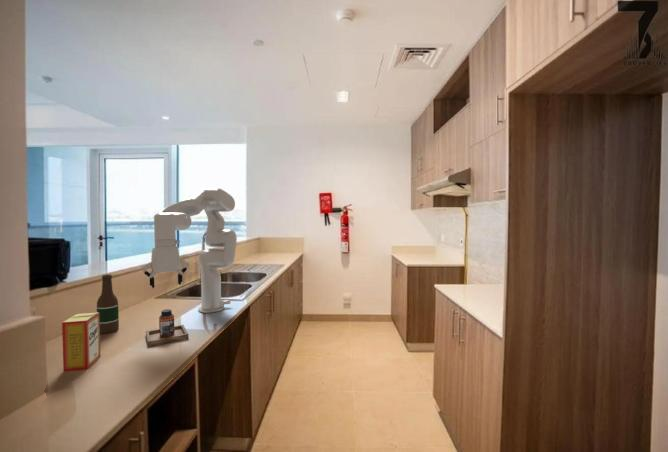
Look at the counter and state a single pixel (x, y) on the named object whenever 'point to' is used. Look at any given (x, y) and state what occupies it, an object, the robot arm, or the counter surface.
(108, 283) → the beer bottle
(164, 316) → the supplement bottle
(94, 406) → the counter surface
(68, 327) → the baking soda box
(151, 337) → the walnut tray
